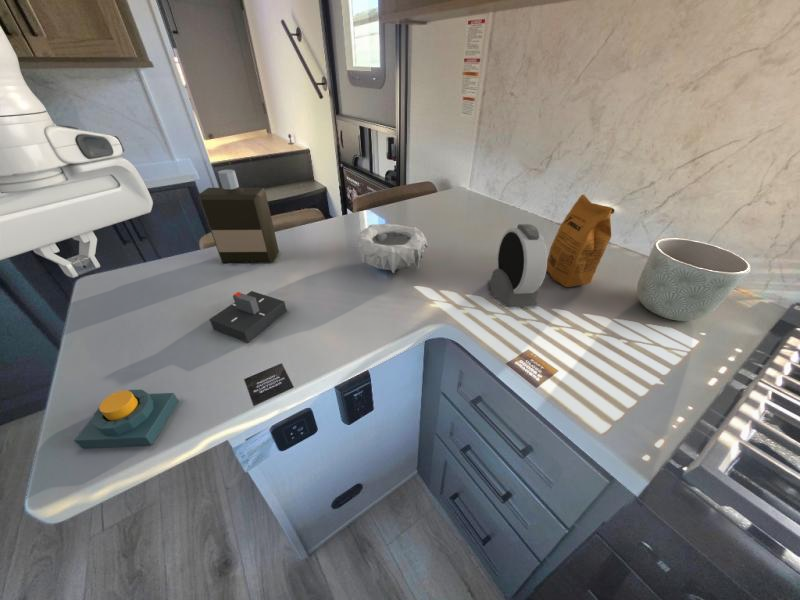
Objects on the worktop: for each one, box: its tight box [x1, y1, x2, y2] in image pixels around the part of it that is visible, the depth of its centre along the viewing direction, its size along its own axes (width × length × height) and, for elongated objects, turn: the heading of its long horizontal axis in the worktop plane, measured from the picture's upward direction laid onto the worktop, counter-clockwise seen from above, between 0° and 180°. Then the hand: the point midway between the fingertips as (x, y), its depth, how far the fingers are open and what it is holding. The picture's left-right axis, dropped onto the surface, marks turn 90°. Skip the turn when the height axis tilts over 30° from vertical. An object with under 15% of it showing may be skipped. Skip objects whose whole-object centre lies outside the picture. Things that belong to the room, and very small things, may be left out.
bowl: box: [356, 223, 429, 274], centre depth 91 cm, size 21×20×10 cm
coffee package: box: [546, 194, 615, 288], centre depth 84 cm, size 10×12×22 cm
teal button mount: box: [73, 389, 179, 449], centre depth 49 cm, size 10×8×4 cm
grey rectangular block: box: [232, 291, 259, 314], centre depth 69 cm, size 5×2×4 cm, turn 66°
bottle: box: [198, 169, 280, 264], centre depth 89 cm, size 8×16×25 cm, turn 93°
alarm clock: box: [489, 223, 548, 308], centre depth 78 cm, size 16×10×18 cm, turn 6°
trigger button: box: [98, 390, 138, 421], centre depth 48 cm, size 4×4×2 cm
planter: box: [636, 237, 752, 322], centre depth 74 cm, size 17×17×15 cm
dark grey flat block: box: [209, 290, 288, 344], centre depth 71 cm, size 12×10×3 cm
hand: (84, 271), depth 39 cm, fingers closed
